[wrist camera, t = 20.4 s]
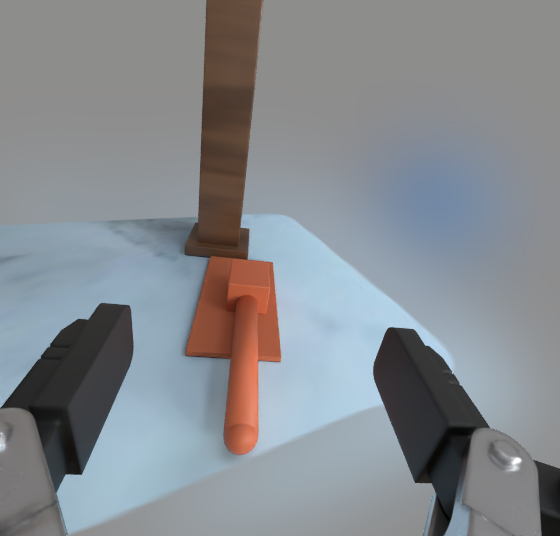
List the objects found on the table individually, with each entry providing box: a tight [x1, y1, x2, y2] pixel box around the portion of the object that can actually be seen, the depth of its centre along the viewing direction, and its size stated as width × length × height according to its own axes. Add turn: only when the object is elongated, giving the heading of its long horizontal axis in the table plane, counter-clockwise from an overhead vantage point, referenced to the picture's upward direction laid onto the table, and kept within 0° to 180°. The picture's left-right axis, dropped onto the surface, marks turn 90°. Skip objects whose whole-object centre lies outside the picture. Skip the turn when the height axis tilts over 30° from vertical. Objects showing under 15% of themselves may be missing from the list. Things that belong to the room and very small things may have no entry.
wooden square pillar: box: [185, 0, 263, 260], centre depth 28 cm, size 6×6×32 cm
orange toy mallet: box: [224, 258, 270, 455], centre depth 21 cm, size 15×3×2 cm, turn 3°
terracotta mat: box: [186, 256, 281, 362], centre depth 27 cm, size 13×6×1 cm, turn 3°
